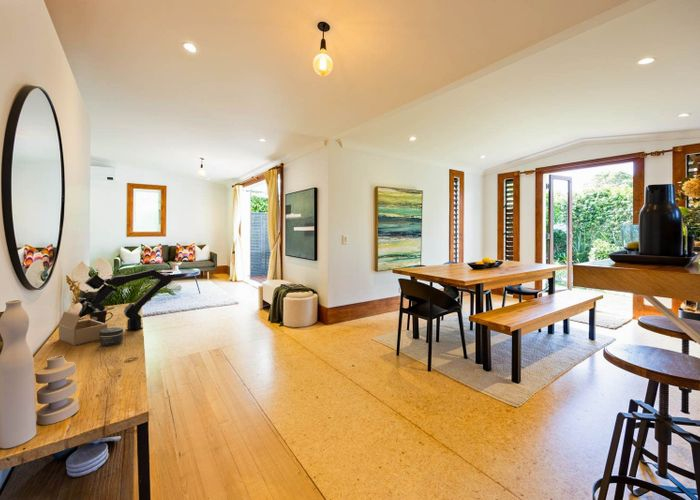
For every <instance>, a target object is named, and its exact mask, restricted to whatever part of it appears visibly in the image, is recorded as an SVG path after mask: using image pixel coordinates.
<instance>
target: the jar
mask: <svg viewBox="0 0 700 500" xmlns="http://www.w3.org/2000/svg"><path fill="white" fill-rule="evenodd" d="M99 337H100V340H99V345H100V346H101V347H104V348H106V347H107V348H108V347H109V346H110V347H114V346H115V347H116V346H119V345H120V344H122V343H123V340H124V328H123V327H121V326H113V327H107V328H106V329H103V330H101V331H100V332H99ZM118 344H119V345H118Z"/></svg>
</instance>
